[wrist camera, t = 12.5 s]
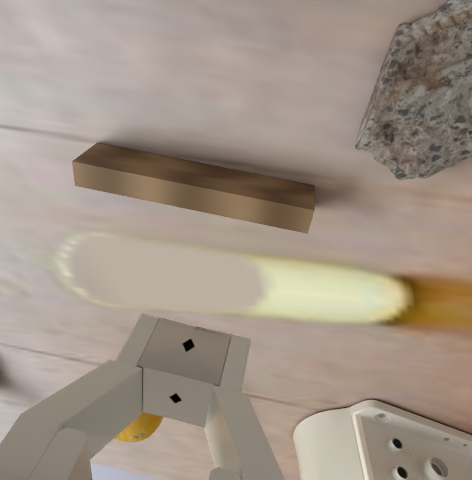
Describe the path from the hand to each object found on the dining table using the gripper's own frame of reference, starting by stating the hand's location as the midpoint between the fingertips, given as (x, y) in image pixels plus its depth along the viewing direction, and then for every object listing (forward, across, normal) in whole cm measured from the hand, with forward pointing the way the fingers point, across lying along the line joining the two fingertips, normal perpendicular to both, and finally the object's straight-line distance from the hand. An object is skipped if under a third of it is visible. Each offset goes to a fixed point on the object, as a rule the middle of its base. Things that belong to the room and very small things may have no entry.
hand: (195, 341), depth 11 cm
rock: (+22, +10, +3) cm, 24 cm away
